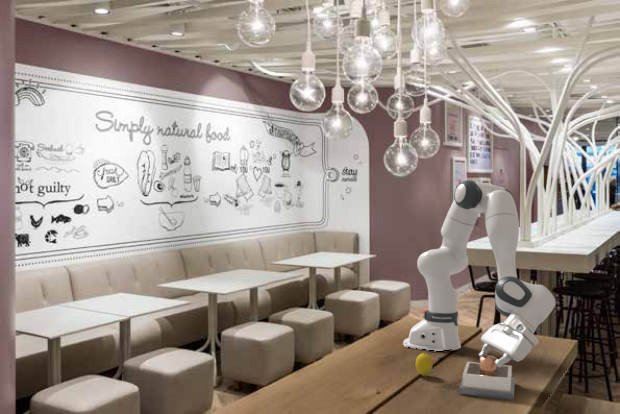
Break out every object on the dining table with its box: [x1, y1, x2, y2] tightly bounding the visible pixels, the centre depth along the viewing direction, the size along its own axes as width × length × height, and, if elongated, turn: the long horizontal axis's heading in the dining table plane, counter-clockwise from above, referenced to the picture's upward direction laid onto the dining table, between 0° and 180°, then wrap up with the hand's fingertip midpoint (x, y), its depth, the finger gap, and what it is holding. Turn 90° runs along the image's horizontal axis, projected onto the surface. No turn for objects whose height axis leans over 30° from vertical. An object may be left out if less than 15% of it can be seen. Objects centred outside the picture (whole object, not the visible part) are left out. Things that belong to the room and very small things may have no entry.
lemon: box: [415, 352, 433, 377], centre depth 206 cm, size 6×6×8 cm
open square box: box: [458, 361, 516, 401], centre depth 193 cm, size 16×16×6 cm
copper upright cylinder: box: [479, 351, 497, 376], centre depth 193 cm, size 5×5×10 cm
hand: (488, 361), depth 193 cm, fingers open, 8 cm apart
